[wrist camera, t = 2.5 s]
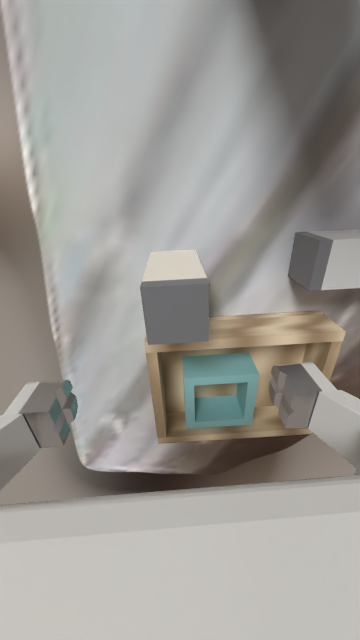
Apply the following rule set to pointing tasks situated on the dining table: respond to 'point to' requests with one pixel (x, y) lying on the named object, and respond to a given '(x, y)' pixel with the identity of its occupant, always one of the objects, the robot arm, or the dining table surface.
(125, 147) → the dining table surface
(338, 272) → the grey plug
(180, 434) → the birch crate
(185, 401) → the teal socket
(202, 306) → the ivory connector
